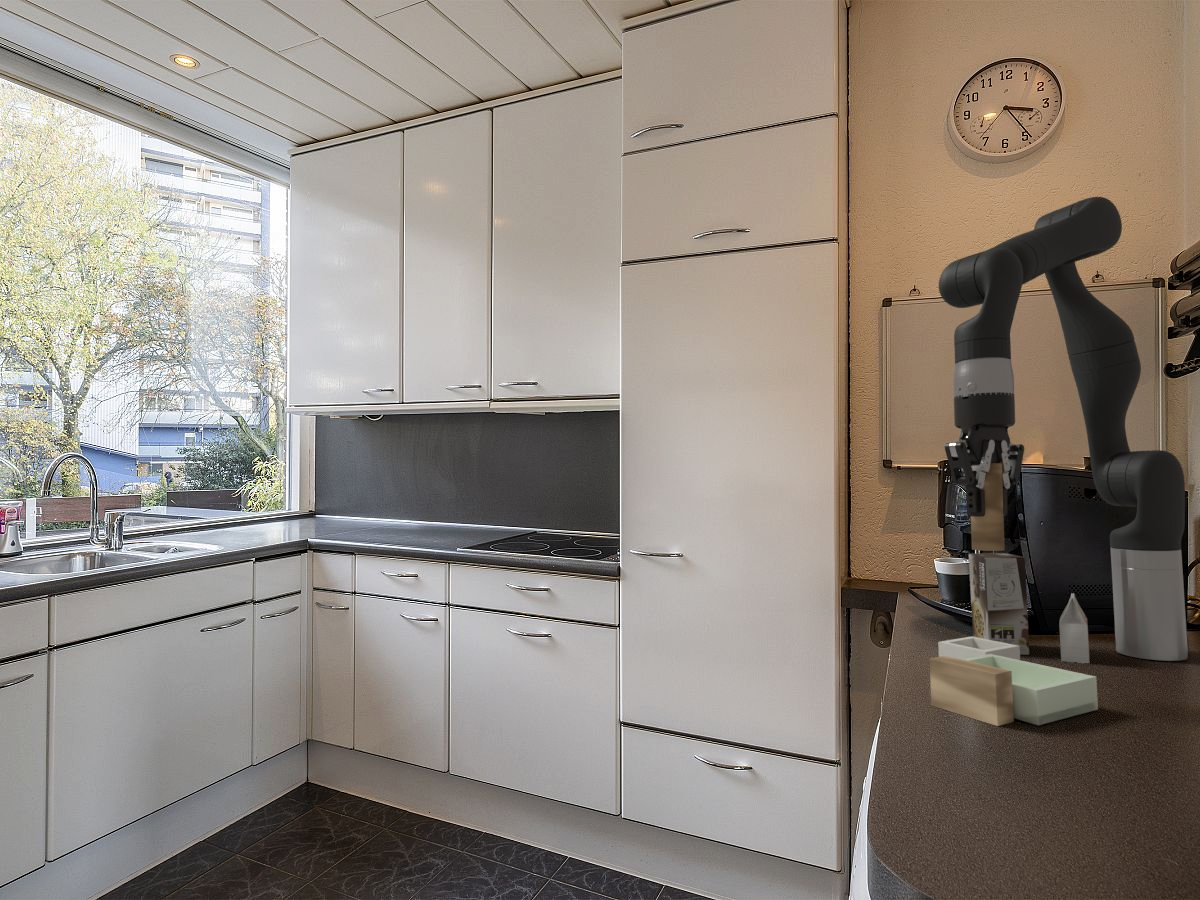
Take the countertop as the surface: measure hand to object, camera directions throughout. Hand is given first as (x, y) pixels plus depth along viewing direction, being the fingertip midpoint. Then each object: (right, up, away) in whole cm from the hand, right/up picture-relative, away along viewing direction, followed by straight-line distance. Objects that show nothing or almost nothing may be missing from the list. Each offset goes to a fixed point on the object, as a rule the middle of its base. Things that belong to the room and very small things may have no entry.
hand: (987, 515), depth 99 cm
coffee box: (+15, -25, +23) cm, 37 cm away
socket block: (+5, -25, +11) cm, 27 cm away
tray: (-1, -24, -7) cm, 25 cm away
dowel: (0, -5, 0) cm, 5 cm away
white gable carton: (+23, -25, +15) cm, 37 cm away
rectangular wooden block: (-8, -24, -11) cm, 27 cm away
